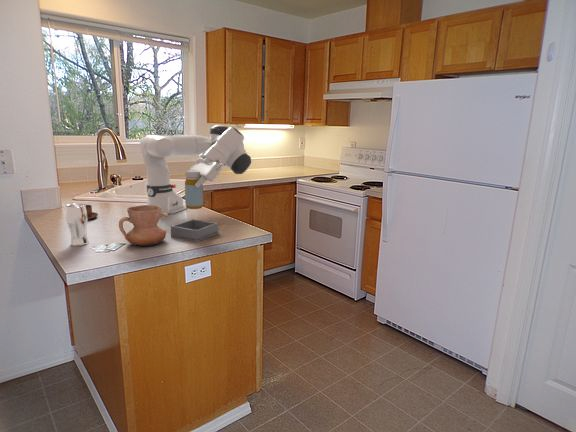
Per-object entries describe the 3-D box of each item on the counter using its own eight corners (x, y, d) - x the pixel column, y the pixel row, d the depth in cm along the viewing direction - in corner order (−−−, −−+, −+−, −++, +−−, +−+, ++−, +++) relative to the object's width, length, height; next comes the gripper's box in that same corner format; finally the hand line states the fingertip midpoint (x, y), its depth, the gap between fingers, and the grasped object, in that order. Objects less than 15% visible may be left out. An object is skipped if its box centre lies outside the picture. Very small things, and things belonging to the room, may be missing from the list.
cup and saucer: (67, 218, 185) (66, 205, 184) (94, 214, 192) (93, 202, 191) (73, 223, 176) (71, 210, 175) (101, 219, 184) (99, 207, 182)
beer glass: (66, 244, 147) (61, 205, 143) (84, 239, 152) (79, 202, 149) (75, 247, 143) (71, 208, 139) (93, 242, 148) (89, 205, 145)
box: (193, 229, 170) (193, 219, 169) (218, 233, 164) (217, 223, 163) (171, 236, 158) (170, 226, 157) (196, 241, 152) (196, 230, 151)
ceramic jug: (164, 235, 160) (162, 202, 156) (173, 245, 148) (171, 209, 144) (118, 241, 151) (114, 206, 148) (123, 252, 139) (119, 214, 135)
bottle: (195, 205, 163) (195, 169, 160) (206, 207, 159) (205, 171, 155) (182, 207, 158) (180, 170, 154) (192, 210, 153) (191, 172, 150)
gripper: (229, 167, 152) (207, 193, 149) (210, 162, 168) (189, 186, 166) (218, 156, 148) (195, 183, 145) (200, 152, 165) (178, 176, 162)
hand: (192, 184), depth 156 cm, fingers closed on bottle, 7 cm apart
